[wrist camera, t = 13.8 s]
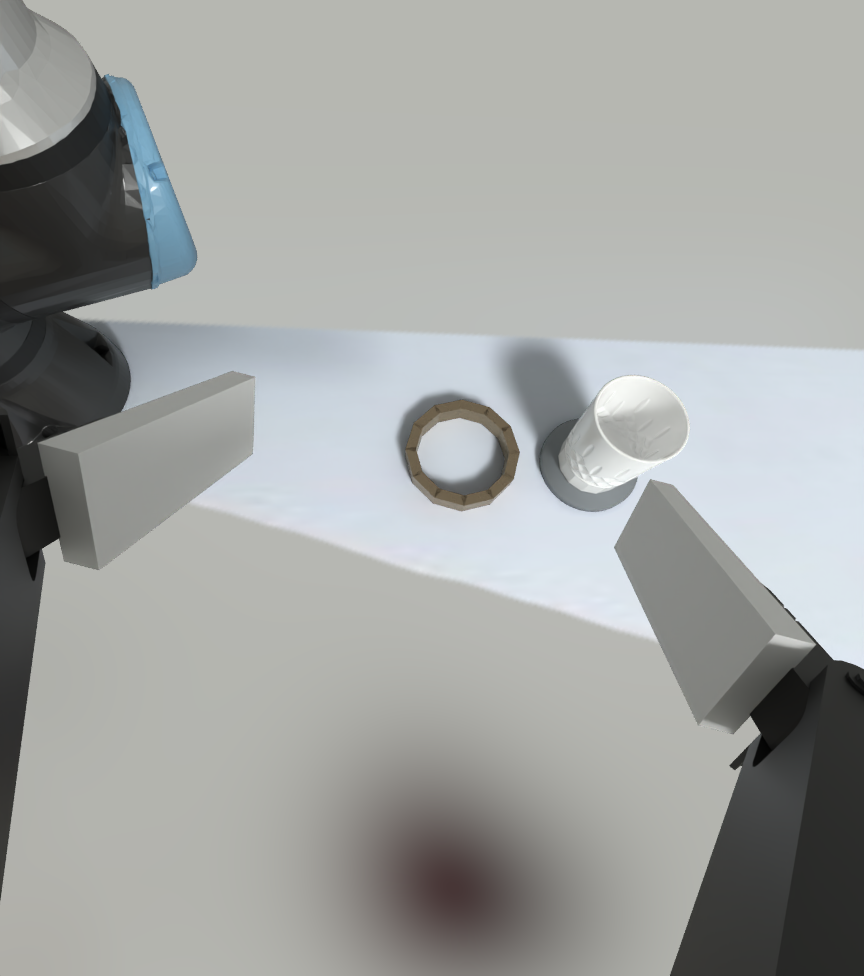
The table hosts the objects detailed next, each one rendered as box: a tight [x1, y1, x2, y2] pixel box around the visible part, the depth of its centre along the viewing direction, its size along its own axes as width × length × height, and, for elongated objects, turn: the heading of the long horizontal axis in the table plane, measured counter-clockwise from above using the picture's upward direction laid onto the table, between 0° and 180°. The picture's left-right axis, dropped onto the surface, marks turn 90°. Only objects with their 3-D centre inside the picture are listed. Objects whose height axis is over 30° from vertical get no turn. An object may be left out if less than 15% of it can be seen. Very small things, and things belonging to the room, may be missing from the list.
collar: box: [405, 400, 520, 511], centre depth 43 cm, size 11×11×2 cm
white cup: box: [558, 375, 690, 494], centre depth 39 cm, size 8×8×10 cm
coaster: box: [540, 419, 638, 512], centre depth 44 cm, size 10×10×1 cm
